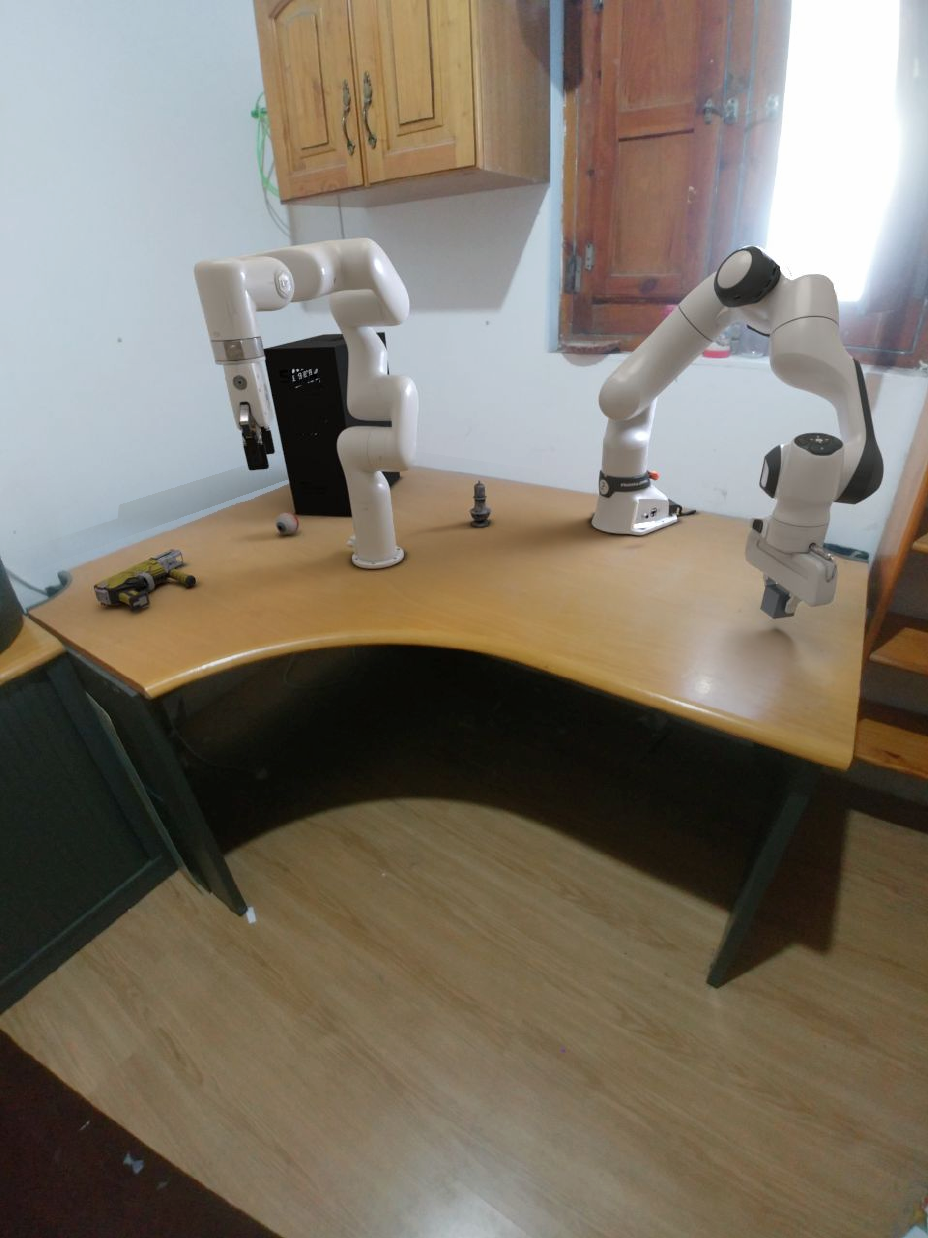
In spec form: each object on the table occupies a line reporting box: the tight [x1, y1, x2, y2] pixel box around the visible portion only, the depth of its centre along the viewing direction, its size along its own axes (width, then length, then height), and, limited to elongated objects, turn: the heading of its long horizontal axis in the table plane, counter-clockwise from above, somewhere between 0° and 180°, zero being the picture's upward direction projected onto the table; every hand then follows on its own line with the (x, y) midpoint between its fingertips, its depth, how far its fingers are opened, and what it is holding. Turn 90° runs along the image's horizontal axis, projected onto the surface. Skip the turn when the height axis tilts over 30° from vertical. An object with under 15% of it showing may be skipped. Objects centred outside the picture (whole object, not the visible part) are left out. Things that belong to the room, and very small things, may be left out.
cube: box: [760, 583, 796, 620], centre depth 110 cm, size 4×4×5 cm
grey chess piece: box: [469, 479, 492, 528], centre depth 162 cm, size 6×6×12 cm
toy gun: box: [93, 548, 197, 612], centre depth 139 cm, size 5×24×15 cm
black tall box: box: [263, 331, 401, 517], centre depth 181 cm, size 38×20×45 cm, turn 167°
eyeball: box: [275, 511, 300, 536], centre depth 163 cm, size 6×6×6 cm
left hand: (262, 461), depth 102 cm, fingers open, 9 cm apart
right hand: (778, 604), depth 110 cm, fingers closed on cube, 4 cm apart
